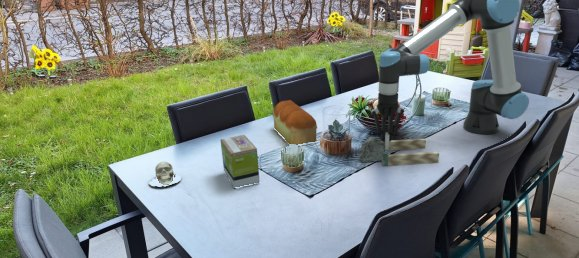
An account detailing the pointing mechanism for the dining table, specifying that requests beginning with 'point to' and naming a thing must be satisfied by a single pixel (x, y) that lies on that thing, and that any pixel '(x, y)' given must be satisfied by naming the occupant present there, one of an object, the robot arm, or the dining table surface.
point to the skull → (164, 173)
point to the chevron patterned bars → (410, 157)
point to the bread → (294, 123)
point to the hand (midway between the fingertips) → (385, 148)
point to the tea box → (240, 160)
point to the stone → (371, 150)
